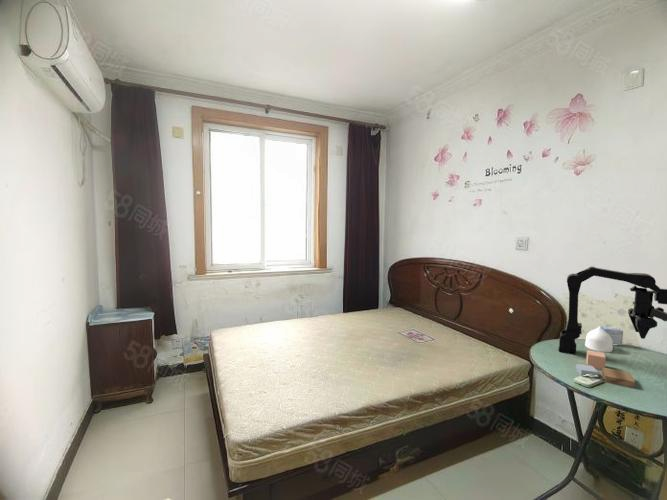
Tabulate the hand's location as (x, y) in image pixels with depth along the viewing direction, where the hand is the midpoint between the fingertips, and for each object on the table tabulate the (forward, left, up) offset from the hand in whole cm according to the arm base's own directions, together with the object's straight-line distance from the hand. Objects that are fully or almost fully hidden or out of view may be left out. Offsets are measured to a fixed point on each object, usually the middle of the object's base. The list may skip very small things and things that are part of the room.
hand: (639, 335), depth 141 cm
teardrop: (-12, +15, -14) cm, 24 cm away
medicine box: (-6, +24, -14) cm, 29 cm away
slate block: (-20, -23, -14) cm, 34 cm away
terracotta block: (-16, -12, -14) cm, 24 cm away
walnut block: (-10, -23, -15) cm, 29 cm away
